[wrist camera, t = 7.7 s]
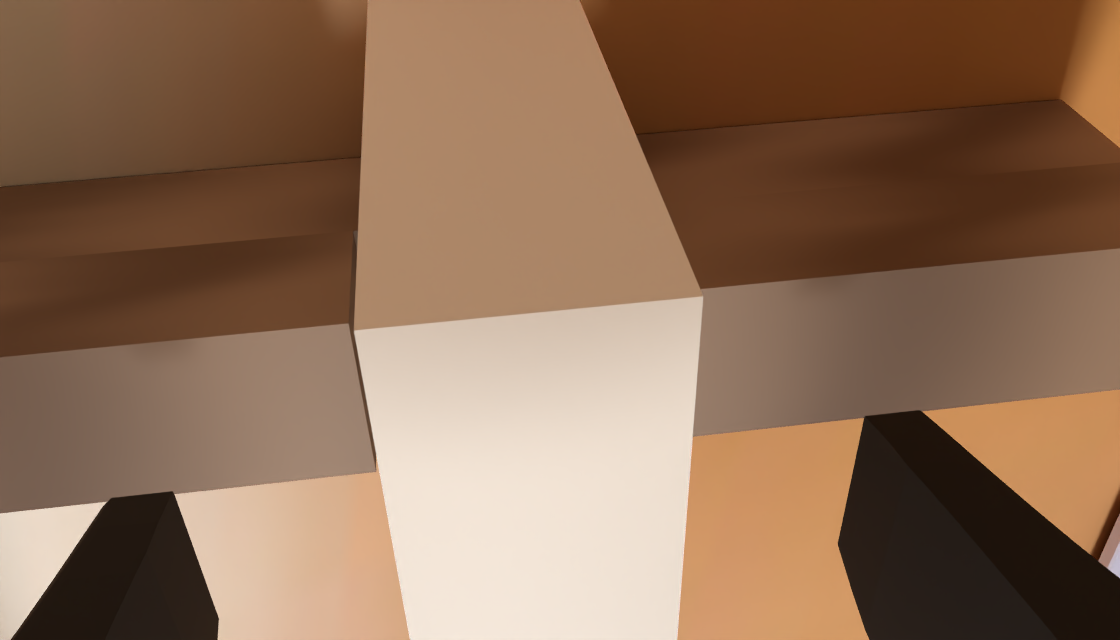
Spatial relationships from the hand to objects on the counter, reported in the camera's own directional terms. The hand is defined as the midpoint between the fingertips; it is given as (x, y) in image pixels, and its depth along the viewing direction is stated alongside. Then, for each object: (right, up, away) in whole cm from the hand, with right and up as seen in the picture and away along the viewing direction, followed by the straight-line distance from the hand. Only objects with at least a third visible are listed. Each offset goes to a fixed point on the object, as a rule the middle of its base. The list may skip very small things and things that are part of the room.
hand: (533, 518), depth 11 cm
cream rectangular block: (-1, +4, +5) cm, 6 cm away
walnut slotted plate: (-1, +4, +5) cm, 6 cm away
